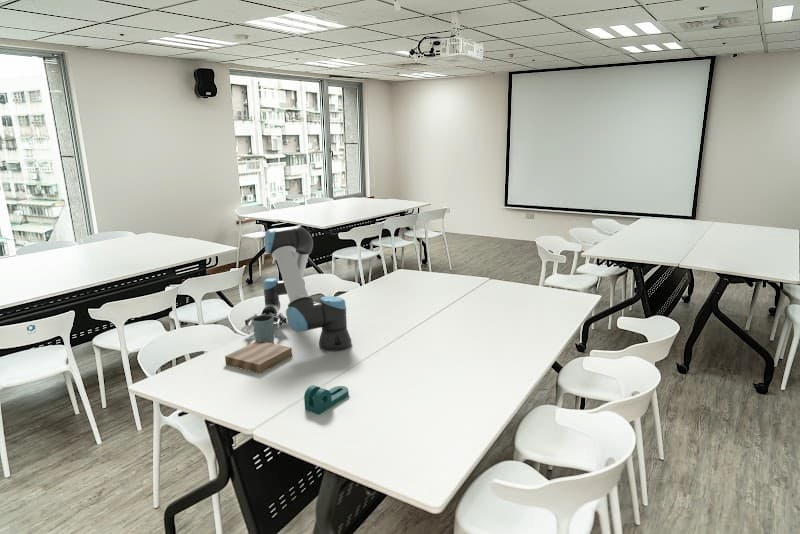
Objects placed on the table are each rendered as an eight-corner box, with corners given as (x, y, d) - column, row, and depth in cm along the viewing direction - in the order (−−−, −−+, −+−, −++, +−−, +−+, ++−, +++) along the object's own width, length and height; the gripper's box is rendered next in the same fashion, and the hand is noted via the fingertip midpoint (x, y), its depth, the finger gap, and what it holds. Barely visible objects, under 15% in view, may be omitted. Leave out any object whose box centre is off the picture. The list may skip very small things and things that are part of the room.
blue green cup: (256, 346, 237) (254, 322, 234) (252, 339, 246) (249, 316, 243) (277, 342, 242) (275, 318, 239) (272, 335, 250) (270, 313, 248)
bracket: (318, 415, 176) (317, 394, 174) (305, 409, 179) (303, 389, 178) (352, 394, 190) (351, 375, 188) (338, 389, 194) (337, 370, 192)
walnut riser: (292, 355, 226) (291, 347, 225) (260, 373, 209) (259, 364, 208) (259, 348, 235) (258, 340, 234) (225, 364, 218) (224, 356, 217)
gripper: (294, 318, 266) (290, 332, 245) (246, 321, 264) (237, 335, 243) (293, 304, 264) (289, 318, 244) (244, 307, 262) (236, 321, 241)
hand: (263, 326), depth 243 cm, fingers open, 13 cm apart
